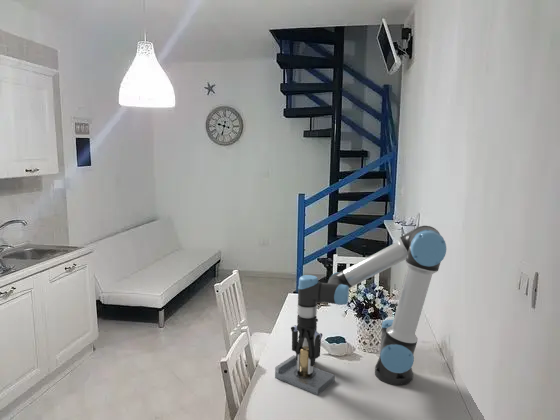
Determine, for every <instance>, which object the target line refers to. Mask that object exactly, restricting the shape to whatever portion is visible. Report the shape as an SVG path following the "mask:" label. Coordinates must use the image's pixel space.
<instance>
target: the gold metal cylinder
mask: <svg viewBox="0 0 560 420" xmlns="http://www.w3.org/2000/svg"><path fill="white" fill-rule="evenodd" d="M309 357H310V353H309V347H308V346H302V347H301V348H300V374H299V376H301V377H310V375H311V374H308V358H309Z"/></svg>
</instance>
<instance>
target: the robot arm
mask: <svg viewBox="0 0 560 420" xmlns="http://www.w3.org/2000/svg"><path fill="white" fill-rule="evenodd" d="M446 255H447V244H446V240H445V239H444V237H443V236H442V235H441V234H440V232H439V231H438V229H436V227H433V226H431V225H420V226H417V227H415V228H414V229H412V230H410V231H408V232H407V233H406V234H404V235H401V236H400V237H399V238H398V241H396V242H394V243H392V244H391V245H389V246H387V247H384V248H383V249H381V250H379V251H377V252H376V253H373V254H371V255H369V256H367V257H366V258H364V259H362V260H361V261H359V262H358V261H357V263H355V264H353V265H351V266H349V267H346V268H345V269H343V270H341V271H339V272H334V273H333V274H331V275H330V276H329V278H328V280H327V282H320V281H319V278H318V277H317V276H316V275H311V274H305V275H301V276H300V277H299V279H298V287H297V311H296V312H297V315H296V316H297V317H296V318H297V320H296V321H297V322H296V323H297V325H292V326H291V327H290V331H291V350H292V352H295V356H296V361H297V370H300V348H301V347H302V346H303V342H304V338H306V339H307V342H308V347H309V353H310V357H309V358H308V374H311V373H312V372H313V367H314V366H315V365H316V359H318V358H319V357H320V356H321V345H322V343H321V342H322V338H323V333H319V332H318V331H317V330H316V319H318V318H317V313H318V310H317V309H318V303H324V304H334V305H348V303H349V296H350V289H351V288H354V287H355V286H356V285H358V284H360V283H362V282H364V281H366V280H368V279H370V278H372V277H374V276H376V275H378V274H380V273H382V272H384V271H385V270H388V269H390V268H392V267H393V266H396V265H398V264H401V262H404V261H405V263H406V265H407V266H408V267H407V272H406V274H405V278H404V280H403V281H404V282H403V286H402V288H401V292H400V295H399V299H398V302H397V306H396V310H395V312H394V317H393V319H385V320H383V321H382V323H381V327H380V328H381V336H380V350H379V351H380V353H379V357H378V359H377V362H376V365H375V367H374V375H375V376H376V378H377V379H378V380H380V381H381V382H384V383H386V384H389V385H394V386H395V385H396V386H403V385H409V384H410V383H412V381H413V378H414V372H413V368H412V367H413V365H414V362H415V357H414V354H415V350H416V348H417V344H418V336H417V335H416V332H417V328H418V324H419V321H420V318H421V316H422V315H421V314H422V311H423V307H424V304H425V301H426V298H427V294H428V291H429V287H430V284H431V280H432V276H433V275H434V274H435V273H437V272H439V269H440V265H441V262H442V261H443V260H444V259H445V257H446ZM314 334H315V338H316V339H315V346H314Z"/></svg>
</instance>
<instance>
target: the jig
mask: <svg viewBox="0 0 560 420" xmlns="http://www.w3.org/2000/svg"><path fill="white" fill-rule="evenodd" d="M274 370H275V372H274V378H275V379H277V380H280V381H282V382H285V383H287V384H289V385H292V386H294V387H297V388H299V389H301V390H304V391H307V392H309V393H311V394H314V395H316V396H318V395H320V394H321V393H323V391H325V390H326V389H327V388H328V387H329V386H330V385H332V384H333V383H334V382H335V379H336V378H335V377H336V375H335V374H333V373H330V372H327V371H325V370H322V369H319V368H317V367H316V366H315V367H314V366H313V372H312V373H311V375H310V377H301V376H299V374H300V370H297V361H296V355H293V354H292V356H290V357H289V358H286V360H284V361H282V362H281V363H280V364H278V365H277V366H275V368H274Z"/></svg>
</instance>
